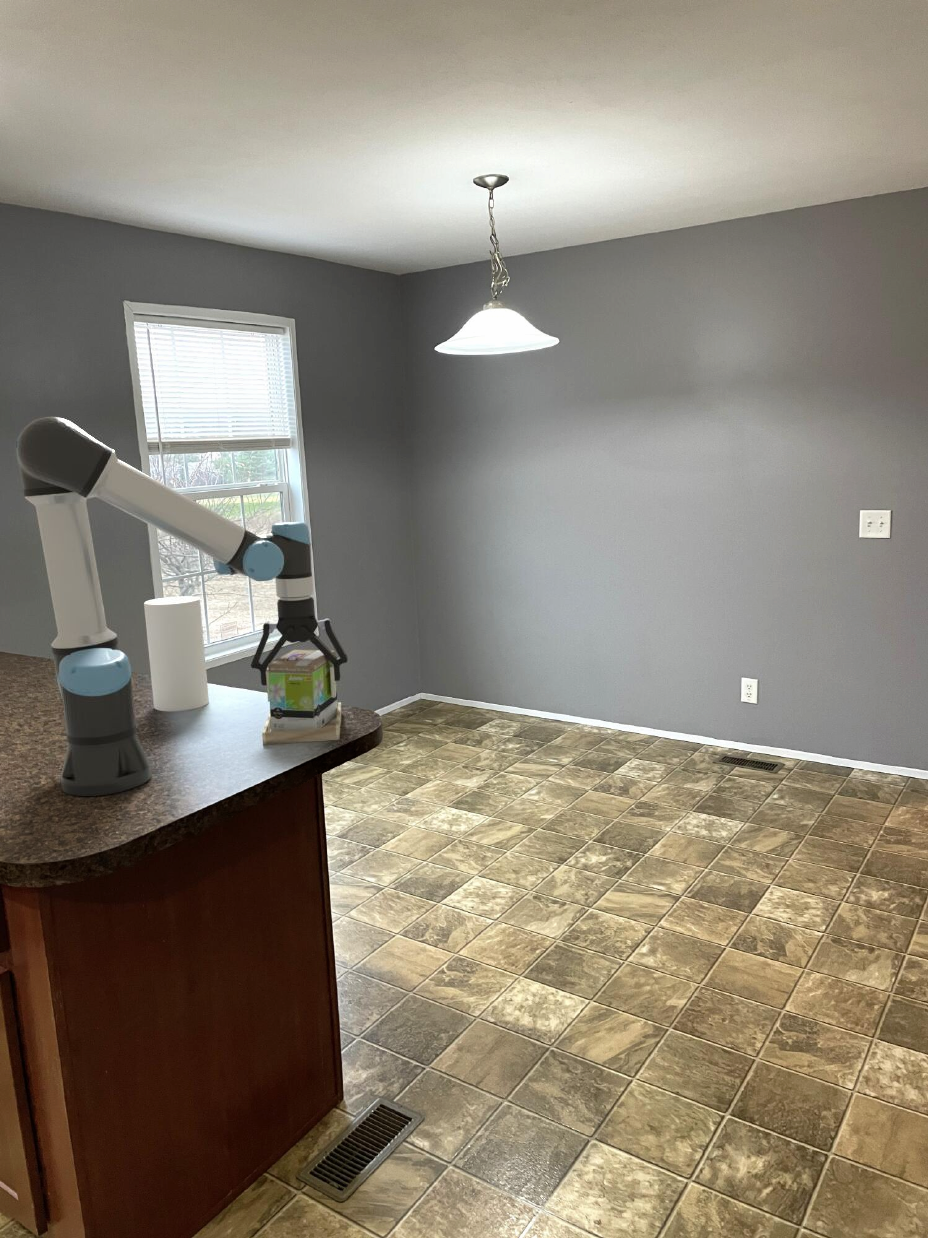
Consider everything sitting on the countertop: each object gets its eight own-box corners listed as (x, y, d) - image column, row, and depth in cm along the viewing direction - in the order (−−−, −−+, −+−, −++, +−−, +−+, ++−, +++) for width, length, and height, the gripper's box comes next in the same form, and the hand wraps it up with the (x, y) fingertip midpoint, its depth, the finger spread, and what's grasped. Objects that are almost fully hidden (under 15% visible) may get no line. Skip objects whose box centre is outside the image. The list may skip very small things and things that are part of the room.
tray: (339, 739, 188) (338, 727, 187) (262, 744, 186) (262, 732, 186) (341, 713, 208) (341, 702, 207) (272, 717, 206) (271, 706, 206)
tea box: (316, 735, 189) (312, 664, 186) (269, 734, 190) (265, 663, 188) (339, 714, 203) (335, 648, 201) (295, 713, 205) (291, 648, 202)
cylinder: (215, 696, 227) (206, 595, 223) (199, 710, 215) (190, 603, 210) (164, 698, 227) (154, 597, 223) (146, 712, 215) (135, 605, 211)
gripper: (355, 591, 197) (361, 690, 201) (236, 597, 195) (245, 697, 198) (355, 596, 190) (361, 698, 193) (232, 603, 187) (240, 706, 191)
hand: (302, 698), depth 196 cm, fingers open, 12 cm apart
